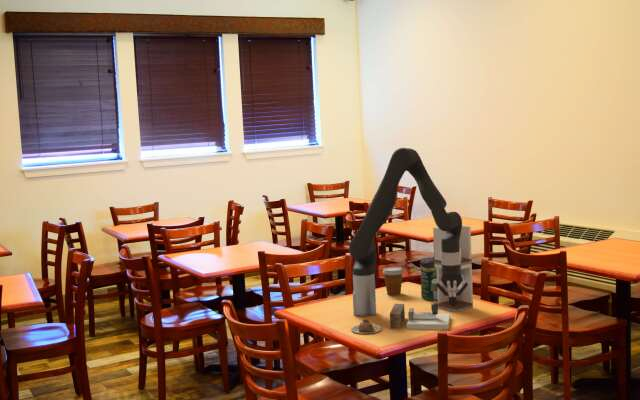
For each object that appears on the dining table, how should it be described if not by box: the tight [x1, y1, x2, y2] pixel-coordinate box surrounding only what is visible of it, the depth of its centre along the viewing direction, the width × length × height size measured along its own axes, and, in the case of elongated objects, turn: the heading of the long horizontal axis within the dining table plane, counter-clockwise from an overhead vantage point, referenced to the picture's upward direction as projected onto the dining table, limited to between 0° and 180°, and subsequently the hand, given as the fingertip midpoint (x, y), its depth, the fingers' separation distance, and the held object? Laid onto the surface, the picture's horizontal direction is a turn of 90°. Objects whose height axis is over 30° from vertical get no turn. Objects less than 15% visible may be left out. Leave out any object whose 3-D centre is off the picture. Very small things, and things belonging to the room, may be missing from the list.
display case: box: [432, 225, 474, 313], centre depth 331 cm, size 11×11×35 cm
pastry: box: [351, 318, 383, 335], centre depth 305 cm, size 12×12×5 cm
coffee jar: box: [419, 256, 438, 302], centre depth 349 cm, size 10×8×19 cm
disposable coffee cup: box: [382, 266, 404, 297], centre depth 362 cm, size 10×10×12 cm
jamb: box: [389, 303, 406, 330], centre depth 313 cm, size 4×16×6 cm, turn 168°
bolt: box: [412, 302, 439, 319], centre depth 310 cm, size 11×3×6 cm, turn 78°
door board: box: [406, 307, 451, 330], centre depth 310 cm, size 16×16×6 cm
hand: (453, 305), depth 307 cm, fingers closed
